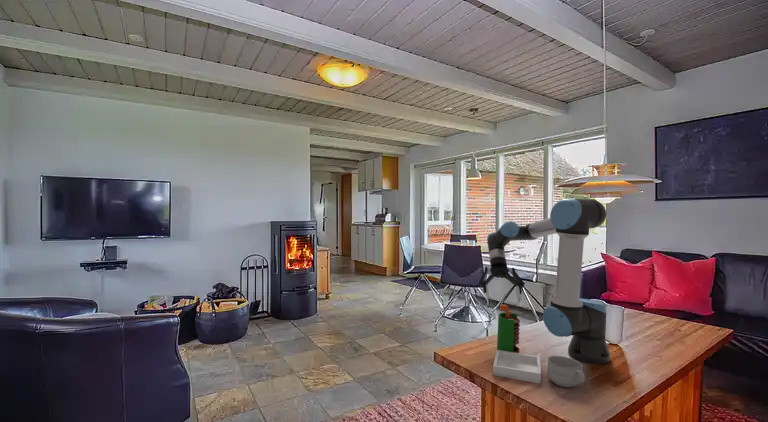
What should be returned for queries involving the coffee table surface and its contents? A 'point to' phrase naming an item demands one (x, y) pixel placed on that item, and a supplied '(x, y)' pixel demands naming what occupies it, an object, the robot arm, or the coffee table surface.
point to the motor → (508, 331)
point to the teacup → (565, 371)
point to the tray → (517, 366)
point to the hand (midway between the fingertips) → (503, 299)
